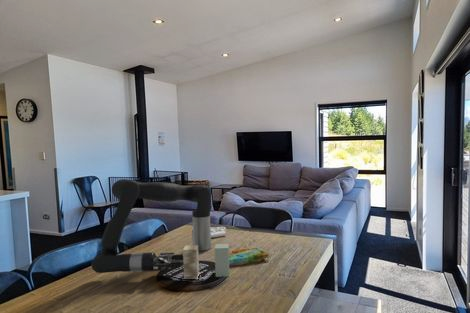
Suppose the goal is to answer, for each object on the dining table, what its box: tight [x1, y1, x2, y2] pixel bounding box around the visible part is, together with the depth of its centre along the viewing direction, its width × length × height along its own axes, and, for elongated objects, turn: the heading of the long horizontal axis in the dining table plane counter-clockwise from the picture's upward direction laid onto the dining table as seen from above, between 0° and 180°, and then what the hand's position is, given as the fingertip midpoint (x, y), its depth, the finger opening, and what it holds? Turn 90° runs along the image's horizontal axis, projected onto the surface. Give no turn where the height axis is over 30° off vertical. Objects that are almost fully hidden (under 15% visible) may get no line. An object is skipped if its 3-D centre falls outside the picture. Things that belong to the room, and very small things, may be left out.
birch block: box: [182, 244, 200, 279], centre depth 141 cm, size 6×6×12 cm
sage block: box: [214, 243, 230, 278], centre depth 142 cm, size 6×6×12 cm
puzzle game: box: [229, 246, 269, 267], centre depth 159 cm, size 12×5×20 cm
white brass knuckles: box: [210, 226, 227, 239], centre depth 204 cm, size 3×18×15 cm
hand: (182, 260), depth 141 cm, fingers open, 8 cm apart
